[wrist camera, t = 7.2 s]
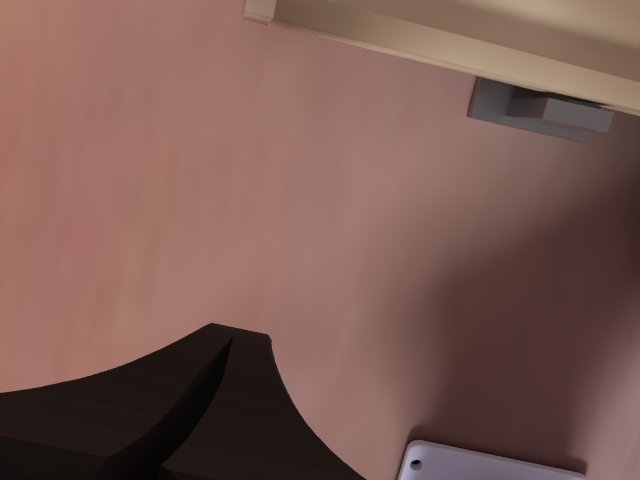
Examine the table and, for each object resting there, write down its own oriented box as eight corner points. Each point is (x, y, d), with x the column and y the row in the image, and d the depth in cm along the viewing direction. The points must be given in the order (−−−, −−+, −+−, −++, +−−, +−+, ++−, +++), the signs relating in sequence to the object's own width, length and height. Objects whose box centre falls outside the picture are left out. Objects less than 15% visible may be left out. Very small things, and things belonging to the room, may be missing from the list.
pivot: (581, 142, 20) (643, 151, 16) (466, 117, 20) (500, 120, 16) (650, -68, 18) (738, -116, 14) (525, -96, 18) (578, -154, 14)
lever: (729, 302, 21) (781, 324, 19) (208, 217, 16) (207, 235, 14) (855, 7, 18) (929, -2, 16) (276, -187, 14) (284, -231, 12)
